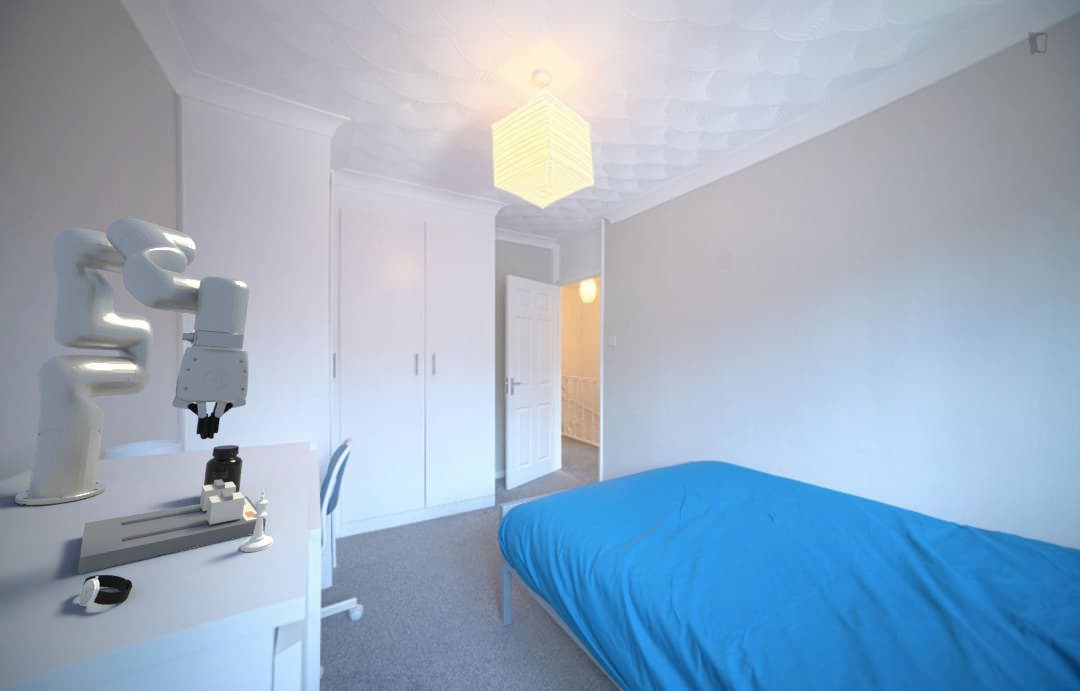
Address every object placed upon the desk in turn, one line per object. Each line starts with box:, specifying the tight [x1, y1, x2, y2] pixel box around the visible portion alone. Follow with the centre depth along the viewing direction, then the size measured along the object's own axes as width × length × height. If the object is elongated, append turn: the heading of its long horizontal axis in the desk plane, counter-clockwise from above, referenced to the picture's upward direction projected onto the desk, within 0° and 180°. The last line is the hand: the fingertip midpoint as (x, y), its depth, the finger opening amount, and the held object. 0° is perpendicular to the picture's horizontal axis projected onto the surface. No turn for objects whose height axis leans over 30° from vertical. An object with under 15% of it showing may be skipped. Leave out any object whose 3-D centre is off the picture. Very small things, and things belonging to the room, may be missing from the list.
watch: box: [78, 574, 133, 607], centre depth 54 cm, size 8×5×4 cm, turn 67°
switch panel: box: [77, 495, 267, 575], centre depth 73 cm, size 16×24×3 cm, turn 138°
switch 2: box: [206, 490, 245, 525], centre depth 75 cm, size 4×5×5 cm
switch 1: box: [199, 479, 236, 511], centre depth 81 cm, size 4×5×5 cm
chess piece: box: [239, 490, 274, 553], centre depth 72 cm, size 5×5×10 cm
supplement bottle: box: [203, 444, 243, 493], centre depth 92 cm, size 7×7×12 cm
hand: (206, 437), depth 73 cm, fingers closed
